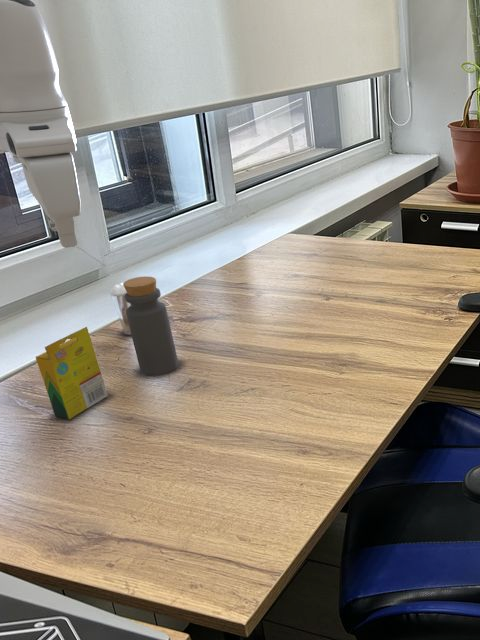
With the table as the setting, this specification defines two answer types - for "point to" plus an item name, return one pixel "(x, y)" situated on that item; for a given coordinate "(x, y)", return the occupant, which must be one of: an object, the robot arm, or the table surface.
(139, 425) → the table surface
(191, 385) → the table surface
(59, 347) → the crayon box
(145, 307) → the bottle
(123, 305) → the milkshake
